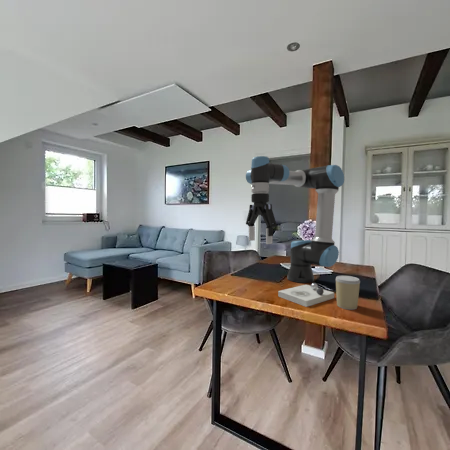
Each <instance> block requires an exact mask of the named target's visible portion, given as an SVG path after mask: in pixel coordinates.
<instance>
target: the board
mask: <svg viewBox="0 0 450 450" xmlns="http://www.w3.org/2000/svg"><path fill="white" fill-rule="evenodd" d="M318 288H319V287H318ZM318 288H317V289H318ZM317 289H316V290H313V289H312V288H311V284H310V285H309V284H303V285H298V286H294V287H289V288H285V289H281V290H278V291H277V293H278V294H277V295H278V297H279V298H281V299H284V300H286V301H289V302H293V303H294V304H298V305H300V306H303V307H306V308H308V307H311V306H314V305H317V304H320V303H323V302H326V301H329V300H333V299H335V292H333V291H330V290H328V289H327V290H326V289H323V291H324V293H323V294H322V295H319V294H318V293H317Z"/></svg>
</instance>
